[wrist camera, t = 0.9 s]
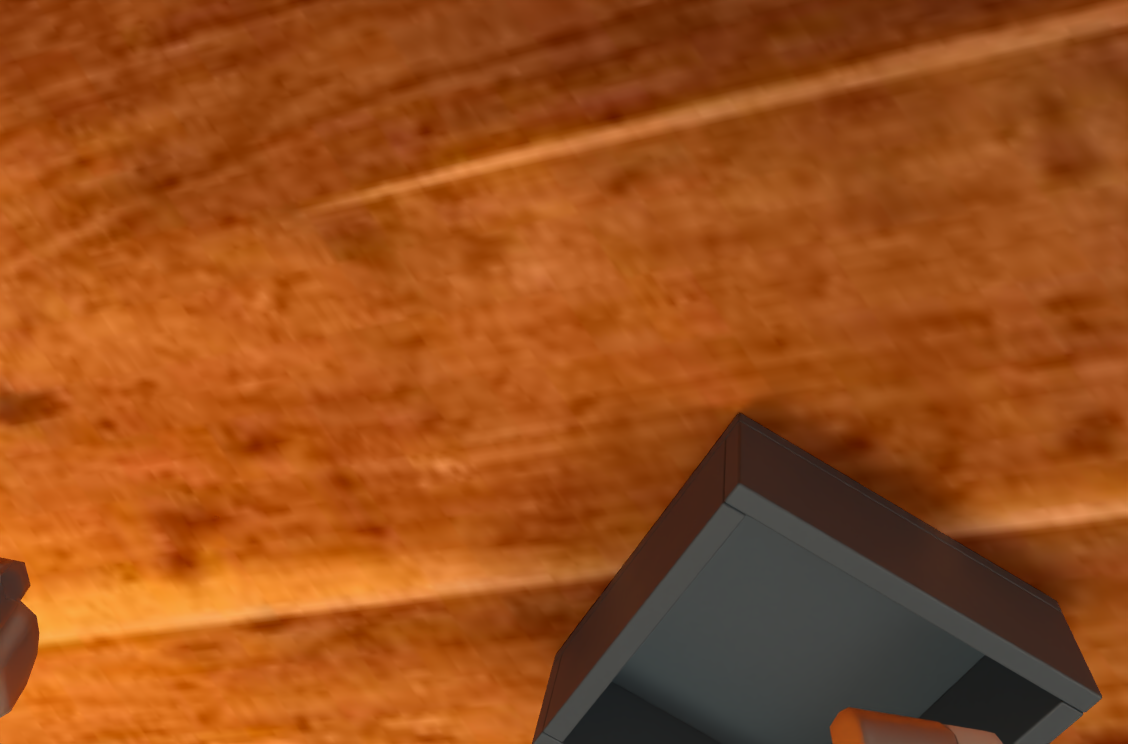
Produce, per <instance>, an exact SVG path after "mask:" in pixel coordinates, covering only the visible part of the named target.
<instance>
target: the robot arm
mask: <svg viewBox="0 0 1128 744" xmlns="http://www.w3.org/2000/svg"><path fill="white" fill-rule="evenodd" d="M29 587H30V582H29V578H28V574H27V570H26V566H25V563H24V562H20V561H15V560H10V559H5V558H0V718H1V717H2V716H4V715H5V714H7V713H9V712H10V711H11V710H12V708H13V706H14V705H15V703H16V701H17V700H18V698H19V696H20V695H21V693H22V691H23V690H24V688H25V686H26V684H27V682H28V679H29V676H30V673H31V670H32V668H33V665H34V662H35V659H36V656H37V651H38V641H39V628H38V623H37V617H36V615H35V614H34V613H33V612H32V611H31V610H30V609H28V608H27V607H26V606H25V605H24V604H23V603H22V602H21V601H20V600H21V599H22V597H23V596H24V594H25V593H26V591H27V590H28V588H29ZM830 732H831V738H832V743H833V744H1003V743H1002V742H1001V741H1000V739H999V738H998V737H997V736H996V734H995V733H991V732H987V731H983V730H977V729H970V728H964V727H958V726H952V725H946V724H941V723H940V722H937V721H931V720H925V719H919V718H913V717H907V716H900V715H894V714H888V713H882V712H876V711H870V710H864V709H857V708H851V707H848V708H846V709H844V710H842V711H840V712H839V713H838V714H837V716H836V718H835V719H834V721H833V722H832V724H831V725H830Z"/></svg>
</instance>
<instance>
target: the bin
mask: <svg viewBox="0 0 1128 744" xmlns="http://www.w3.org/2000/svg"><path fill="white" fill-rule="evenodd" d="M1101 698H1102V695H1101V693H1100V691H1099V689H1098V687H1097V685H1096V683H1095V681H1094V679H1093V676H1092V674H1091V672H1090V670H1089V668H1088V666H1087V664H1086V662H1085V660H1084V658H1083V656H1082V653H1081V651H1080V649H1079V647H1078V645H1077V643H1076V641H1075V639H1074V637H1073V635H1072V632H1071V630H1070V628H1069V626H1068V624H1067V622H1066V620H1065V618H1064V616H1063V614H1062V612H1061V609H1060V607H1059V605H1058V603H1057V601H1056V600H1054V599H1052V598H1051V597H1049V596H1047V595H1046V594H1044V593H1042V592H1040V591H1039V590H1037V589H1035V588H1034V587H1032V586H1030V585H1029V584H1027V583H1025V582H1024V581H1022V580H1020V579H1019V578H1017V577H1015V576H1014V575H1012V574H1010V573H1009V572H1007V571H1005V570H1004V569H1002V568H1000V567H998V566H997V565H995V564H993V563H992V562H990V561H988V560H987V559H985V558H983V557H982V556H980V555H978V554H977V553H975V552H973V551H972V550H970V549H968V548H967V547H965V546H963V545H961V544H960V543H958V542H956V541H955V540H953V539H951V538H950V537H948V536H946V535H945V534H943V533H941V532H940V531H938V530H936V529H935V528H933V527H931V526H930V525H928V524H926V523H925V522H923V521H921V520H919V519H918V518H916V517H914V516H913V515H911V514H909V513H908V512H906V511H904V510H903V509H901V508H899V507H898V506H896V505H894V504H893V503H891V502H889V501H888V500H886V499H884V498H882V497H881V496H879V495H877V494H876V493H874V492H872V491H871V490H869V489H867V488H866V487H864V486H862V485H861V484H859V483H857V482H856V481H854V480H852V479H851V478H849V477H847V476H846V475H844V474H842V473H840V472H839V471H837V470H835V469H834V468H832V467H830V466H829V465H827V464H825V463H824V462H822V461H820V460H819V459H817V458H815V457H814V456H812V455H810V454H809V453H807V452H805V451H803V450H802V449H800V448H798V447H797V446H795V445H793V444H792V443H790V442H788V441H787V440H785V439H783V438H782V437H780V436H778V435H777V434H775V433H773V432H772V431H770V430H768V429H767V428H765V427H763V426H761V425H760V424H758V423H756V422H755V421H753V420H751V419H750V418H748V417H746V416H745V415H743V414H741V413H739V414H738V415H737V416H736V417H735V419H734V420H733V421H732V423H731V424H730V425H729V427H728V428H727V429H726V431H725V432H724V433H723V435H722V436H721V437H720V438H719V440H718V441H717V442H716V444H715V445H714V446H713V448H712V449H711V450H710V452H709V453H708V454H707V456H706V457H705V458H704V460H703V461H702V462H701V464H700V465H699V466H698V468H697V469H696V470H695V472H694V473H693V474H692V476H691V477H690V478H689V480H688V481H687V482H686V483H685V485H684V486H683V487H682V489H681V490H680V491H679V493H678V494H677V495H676V497H675V498H674V499H673V501H672V502H671V503H670V505H669V506H668V507H667V509H666V510H665V511H664V513H663V514H662V515H661V517H660V518H659V519H658V521H657V522H656V523H655V524H654V526H653V527H652V528H651V530H650V531H649V532H648V534H647V535H646V536H645V538H644V539H643V540H642V542H641V543H640V544H639V546H638V547H637V548H636V550H635V551H634V552H633V554H632V555H631V556H630V558H629V559H628V560H627V562H626V563H625V564H624V565H623V567H622V568H621V569H620V571H619V572H618V573H617V575H616V576H615V577H614V579H613V580H612V581H611V583H610V584H609V585H608V587H607V588H606V589H605V591H604V592H603V593H602V595H601V596H600V597H599V599H598V600H597V601H596V603H595V604H594V605H593V607H592V608H591V609H590V610H589V612H588V613H587V614H586V616H585V617H584V618H583V620H582V621H581V622H580V624H579V625H578V626H577V628H576V629H575V630H574V632H573V633H572V634H571V636H570V637H569V638H568V640H567V641H566V642H565V644H564V645H563V646H562V648H561V649H560V650H559V651H558V653H557V654H556V655H555V659H554V663H553V666H552V670H551V674H550V678H549V681H548V685H547V689H546V693H545V696H544V700H543V704H542V708H541V712H540V715H539V719H538V723H537V727H536V731H535V734H534V738H533V742H532V744H833V743H832V738H831V732H830V725H831V724H832V722H833V721H834V719H835V718H836V716H837V714H838V713H839V712H840V711H842V710H844V709H846V708H848V707H851V708H857V709H864V710H870V711H876V712H882V713H888V714H894V715H900V716H907V717H913V718H919V719H925V720H931V721H937V722H940V723H941V724H946V725H952V726H958V727H964V728H970V729H977V730H983V731H987V732H991V733H995V734H996V736H997V737H998V738H999V739H1000V741H1001V742H1002V743H1003V744H1049V743H1050V742H1052V741H1053V740H1054V739H1055V738H1056V737H1057V736H1059V735H1060V734H1061V733H1062V732H1063V731H1065V730H1066V729H1067V728H1068V727H1069V726H1071V725H1072V724H1073V723H1074V722H1075V721H1076V720H1078V719H1079V718H1080V717H1081V716H1082V715H1083V712H1086V711H1088V710H1089V709H1090V708H1091V707H1092V706H1094V705H1095V704H1096V703H1097V702H1098V701H1099V700H1101Z"/></svg>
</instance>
